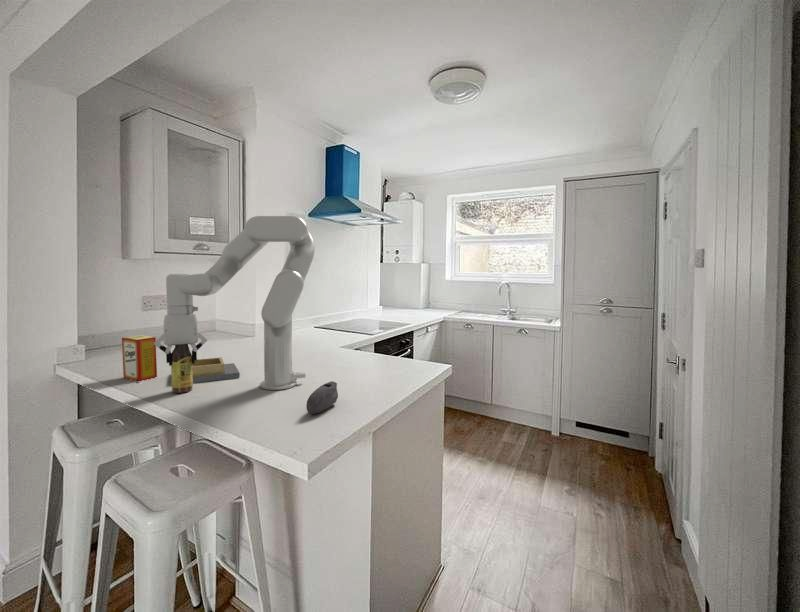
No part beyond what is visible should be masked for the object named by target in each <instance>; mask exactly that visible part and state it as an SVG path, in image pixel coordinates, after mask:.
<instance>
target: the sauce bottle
mask: <svg viewBox="0 0 800 612" xmlns="http://www.w3.org/2000/svg"><path fill="white" fill-rule="evenodd" d="M171 359H172V365H171V366H170V374H171V377H170V378H171V383H170V384H171V391H172V393H173V394H174V393H175V394H183V393H188V392H190V391H192V390H193V384H194V383H193V370H192V351H191V350H190V346H189V344H184V345H174V348H173V350H172V352H171Z"/></svg>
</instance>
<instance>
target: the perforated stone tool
mask: <svg viewBox="0 0 800 612" xmlns="http://www.w3.org/2000/svg"><path fill="white" fill-rule="evenodd" d="M337 385H338V383H337V382H335V381H331V380H330V381H328V382H326V383H324V384H322V385H320V386H319V387H317V388H316V389H315V390H314V391H312V393H311V394H310V395H309V396H308V399H307V400H306V411H307V412H308V414H310V415H316V414H319V413H322V412H323V411H326V410H328V409H330V408H331V407H332V406H333V405H334V404H336V403H337V400H338V398H339V393H338V388H337V387H338V386H337Z"/></svg>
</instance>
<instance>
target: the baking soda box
mask: <svg viewBox="0 0 800 612" xmlns="http://www.w3.org/2000/svg"><path fill="white" fill-rule="evenodd" d="M156 340H157V338H156V336H151V335H150V336H149V335H144V334H143V335H142V334H141V335H132V336H123V337H121V346H122V347H121V351H122V370H123V379H124V378H127V379H126V380H129V379H132V380H131V381H134V380H136V381H135V382H139V381H140V382H143V381H142V380H144V381H148V380H151V378H153V379H156V378H155V377H157V378H158V370H157V369H158V368H157V367H158V366H157V364H158V363H157V346H155V345H154V342H155V341H156ZM147 379H148V380H147Z"/></svg>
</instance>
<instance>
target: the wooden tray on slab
mask: <svg viewBox="0 0 800 612" xmlns="http://www.w3.org/2000/svg"><path fill="white" fill-rule="evenodd" d="M192 370H193V384H197V383H196V382H199V383H206V382H205V381H208V382H215V381H214V380H216V381H222V380H223V379H225V380H231V378H234V379H240V378H239V377H240V372H239V369H238V367H237V366H236V364H235V363H234V362H233V363H232V362H231V363H225V362H224V360H223V358H222V356H221V357H211V358H209V357H208V358H201V359H200V358H199V359H198V358H197V360H195V363H192ZM223 381H224V380H223Z"/></svg>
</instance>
